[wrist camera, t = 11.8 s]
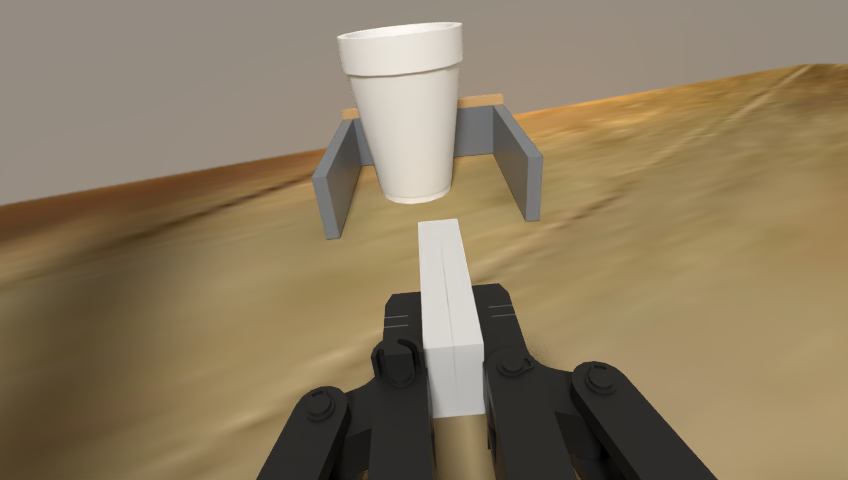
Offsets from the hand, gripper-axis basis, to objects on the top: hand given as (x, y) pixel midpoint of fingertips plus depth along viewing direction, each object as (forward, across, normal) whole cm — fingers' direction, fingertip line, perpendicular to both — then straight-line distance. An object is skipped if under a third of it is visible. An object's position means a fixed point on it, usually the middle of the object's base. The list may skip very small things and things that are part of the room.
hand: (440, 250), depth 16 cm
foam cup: (+21, -1, -7) cm, 22 cm away
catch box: (+21, 0, -7) cm, 22 cm away
